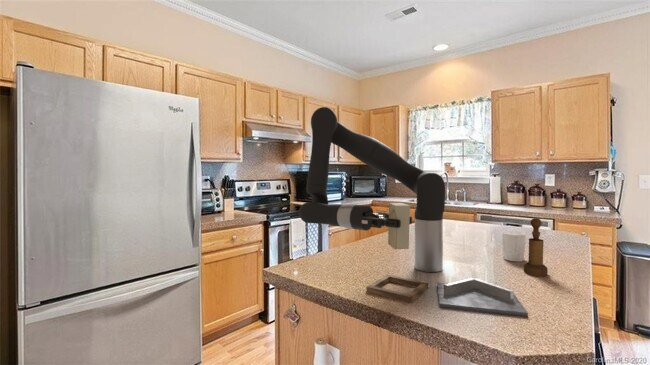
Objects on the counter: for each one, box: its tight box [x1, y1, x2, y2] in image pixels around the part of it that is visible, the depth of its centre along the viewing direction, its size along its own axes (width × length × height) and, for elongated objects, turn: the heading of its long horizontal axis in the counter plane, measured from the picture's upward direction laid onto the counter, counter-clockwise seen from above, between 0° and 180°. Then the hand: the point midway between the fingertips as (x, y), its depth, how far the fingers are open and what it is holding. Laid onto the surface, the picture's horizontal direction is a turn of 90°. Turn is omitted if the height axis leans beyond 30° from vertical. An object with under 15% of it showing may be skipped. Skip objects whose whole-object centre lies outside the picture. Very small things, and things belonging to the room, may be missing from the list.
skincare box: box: [387, 202, 411, 250], centre depth 90 cm, size 6×4×12 cm
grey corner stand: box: [436, 277, 529, 318], centre depth 83 cm, size 16×19×4 cm
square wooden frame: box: [365, 274, 430, 304], centre depth 90 cm, size 13×13×2 cm
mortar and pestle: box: [523, 217, 548, 277], centre depth 104 cm, size 7×6×18 cm
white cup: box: [501, 230, 527, 263], centre depth 121 cm, size 8×8×10 cm
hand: (405, 221), depth 88 cm, fingers closed on skincare box, 7 cm apart
